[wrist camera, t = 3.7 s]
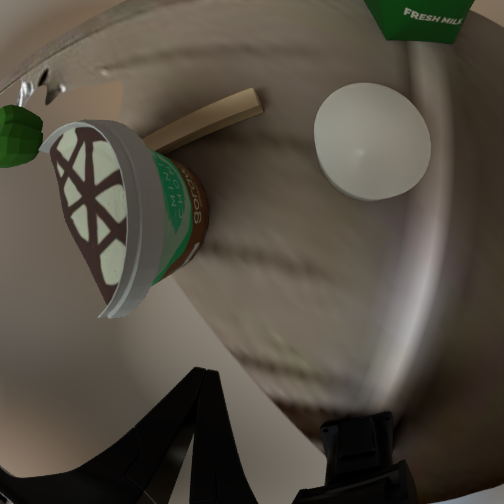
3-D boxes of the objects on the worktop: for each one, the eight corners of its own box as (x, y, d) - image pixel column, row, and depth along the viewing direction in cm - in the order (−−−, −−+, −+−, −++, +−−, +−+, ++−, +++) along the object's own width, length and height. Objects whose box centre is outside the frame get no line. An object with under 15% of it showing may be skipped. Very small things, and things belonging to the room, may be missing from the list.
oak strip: (263, 112, 18) (258, 105, 17) (104, 187, 23) (93, 186, 21) (257, 95, 18) (252, 87, 17) (102, 172, 23) (91, 171, 21)
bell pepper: (57, 109, 24) (-3, 94, 15) (42, 171, 26) (-21, 168, 16) (32, 114, 26) (-19, 104, 16) (19, 167, 27) (-33, 165, 18)
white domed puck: (423, 188, 16) (446, 182, 12) (334, 212, 18) (336, 211, 14) (390, 99, 16) (402, 75, 12) (303, 120, 18) (297, 97, 14)
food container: (255, 245, 20) (188, 272, 10) (191, 283, 21) (103, 327, 12) (179, 116, 20) (93, 70, 10) (128, 161, 22) (37, 144, 12)
